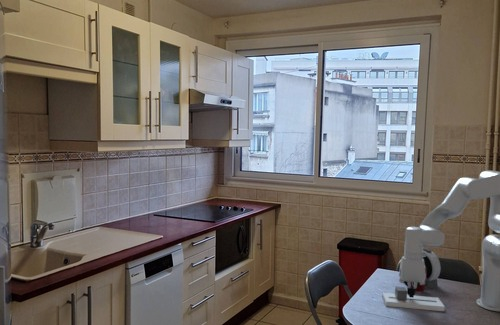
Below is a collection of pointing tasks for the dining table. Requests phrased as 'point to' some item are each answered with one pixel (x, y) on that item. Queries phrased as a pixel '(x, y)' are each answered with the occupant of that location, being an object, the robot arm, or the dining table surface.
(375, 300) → the dining table surface
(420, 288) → the soda can
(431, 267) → the alarm clock
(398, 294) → the fader knob
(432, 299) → the console
